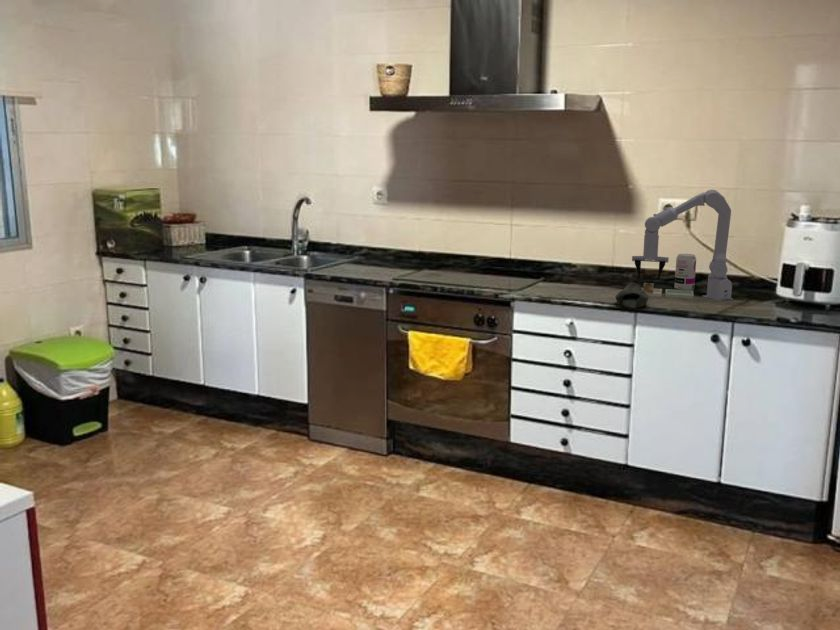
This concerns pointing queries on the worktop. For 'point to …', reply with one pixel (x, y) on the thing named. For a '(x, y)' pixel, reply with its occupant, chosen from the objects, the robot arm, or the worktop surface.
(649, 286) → the letter cube
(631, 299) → the dark grey rubber slipper
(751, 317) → the worktop surface
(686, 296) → the sage tray
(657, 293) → the white tray
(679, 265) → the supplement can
